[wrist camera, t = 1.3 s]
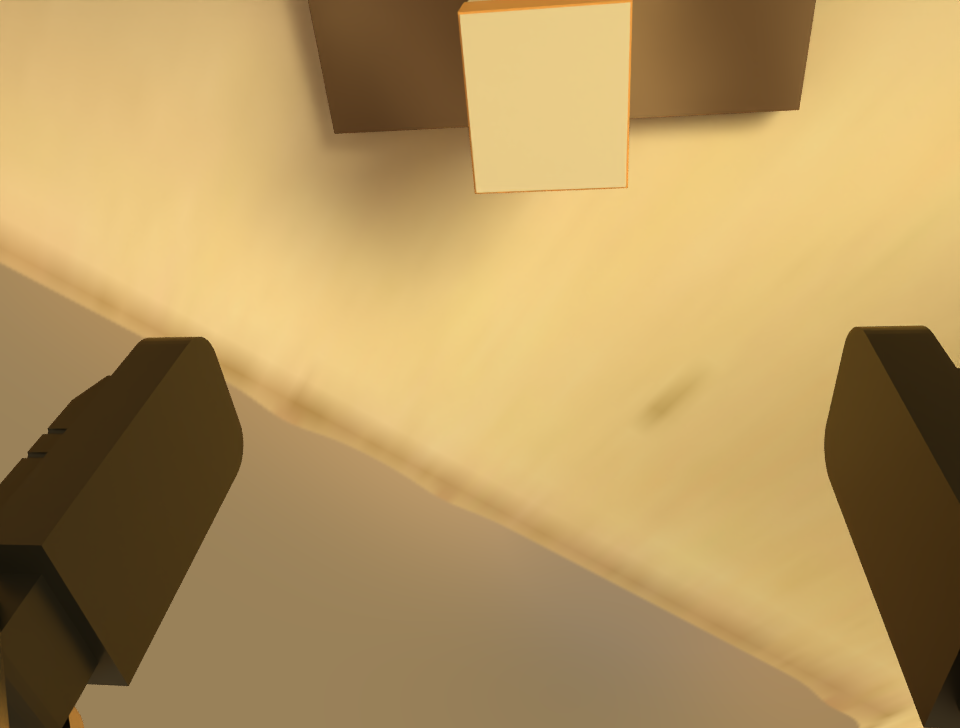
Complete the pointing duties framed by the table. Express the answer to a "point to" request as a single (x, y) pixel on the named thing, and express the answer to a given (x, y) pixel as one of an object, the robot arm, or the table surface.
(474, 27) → the orange-striped cream block
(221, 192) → the table surface
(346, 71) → the ticket board
